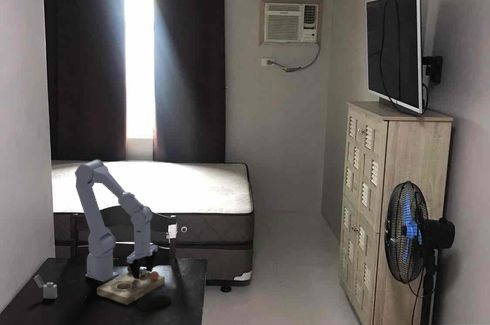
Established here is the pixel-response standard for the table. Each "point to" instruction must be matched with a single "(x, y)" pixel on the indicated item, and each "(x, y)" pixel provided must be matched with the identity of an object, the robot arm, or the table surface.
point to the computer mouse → (153, 300)
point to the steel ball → (143, 272)
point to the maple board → (129, 287)
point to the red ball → (154, 275)
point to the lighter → (47, 288)
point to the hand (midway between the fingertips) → (142, 274)
